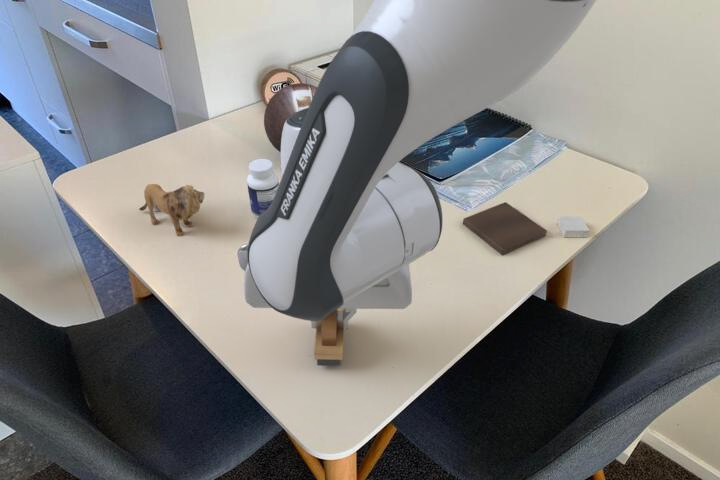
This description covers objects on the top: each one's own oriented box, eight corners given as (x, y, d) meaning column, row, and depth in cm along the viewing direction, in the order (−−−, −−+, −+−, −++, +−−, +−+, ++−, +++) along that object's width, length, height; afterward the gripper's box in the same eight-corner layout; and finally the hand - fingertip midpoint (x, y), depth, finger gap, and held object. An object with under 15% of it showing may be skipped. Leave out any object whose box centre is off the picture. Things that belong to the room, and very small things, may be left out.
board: (545, 236, 89) (547, 230, 88) (502, 255, 85) (503, 250, 84) (504, 207, 96) (505, 201, 95) (462, 224, 92) (463, 218, 91)
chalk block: (587, 237, 89) (589, 230, 88) (563, 237, 89) (565, 230, 88) (579, 223, 92) (581, 216, 91) (556, 223, 92) (558, 216, 91)
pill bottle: (250, 205, 96) (243, 158, 90) (279, 201, 97) (274, 154, 91) (252, 222, 92) (245, 174, 85) (283, 218, 93) (278, 170, 86)
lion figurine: (215, 225, 91) (206, 181, 85) (196, 243, 87) (185, 198, 81) (150, 204, 95) (137, 161, 90) (128, 220, 92) (114, 176, 86)
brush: (342, 367, 66) (343, 337, 63) (314, 366, 66) (313, 337, 63) (344, 318, 73) (344, 289, 69) (318, 317, 73) (317, 288, 69)
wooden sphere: (286, 180, 102) (279, 109, 93) (256, 148, 112) (247, 80, 103) (352, 161, 108) (352, 91, 99) (318, 132, 118) (315, 66, 109)
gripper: (229, 259, 56) (245, 343, 65) (418, 261, 57) (409, 344, 65) (240, 224, 61) (253, 306, 70) (413, 226, 62) (406, 307, 70)
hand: (330, 324), depth 68 cm, fingers closed on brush, 2 cm apart
